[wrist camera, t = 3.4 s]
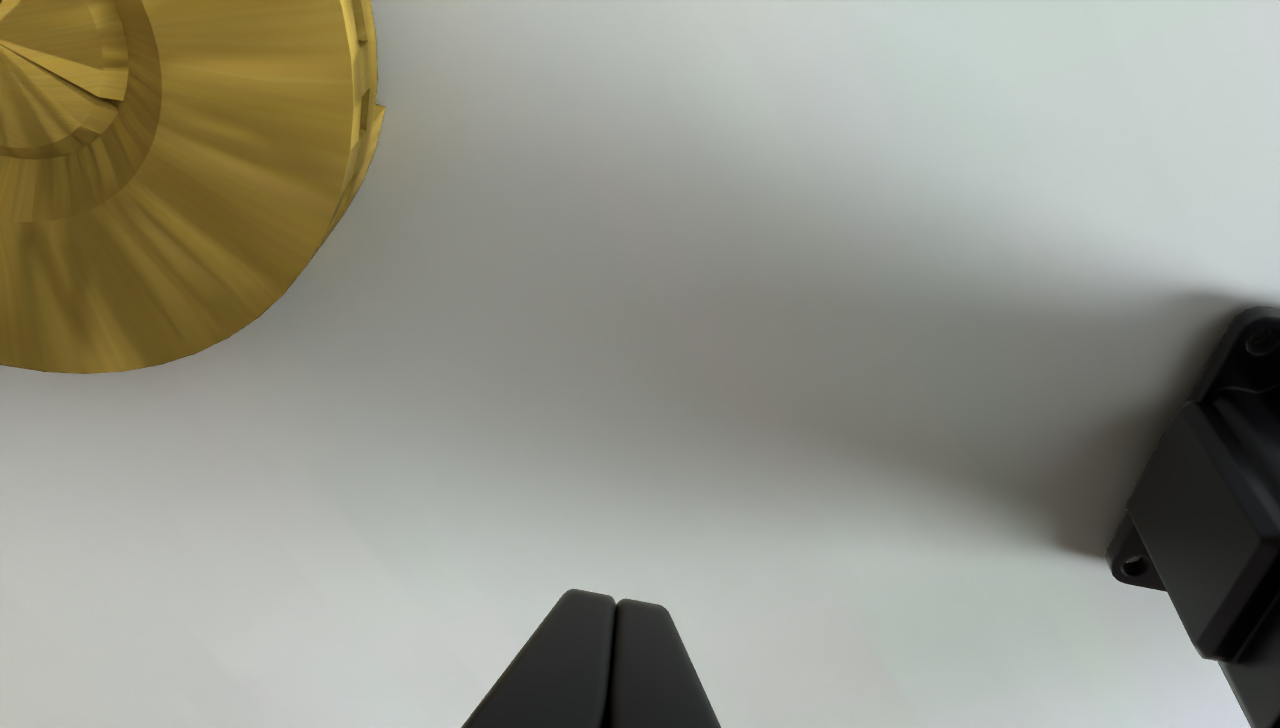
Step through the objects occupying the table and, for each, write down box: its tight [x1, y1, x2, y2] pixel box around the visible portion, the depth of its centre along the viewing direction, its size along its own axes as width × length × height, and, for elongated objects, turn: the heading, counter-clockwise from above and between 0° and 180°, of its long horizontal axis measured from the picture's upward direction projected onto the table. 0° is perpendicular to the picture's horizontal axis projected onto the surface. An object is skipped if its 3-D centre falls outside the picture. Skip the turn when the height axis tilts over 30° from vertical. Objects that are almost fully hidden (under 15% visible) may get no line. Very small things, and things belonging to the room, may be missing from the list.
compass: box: [0, 0, 386, 374], centre depth 18 cm, size 12×12×2 cm
